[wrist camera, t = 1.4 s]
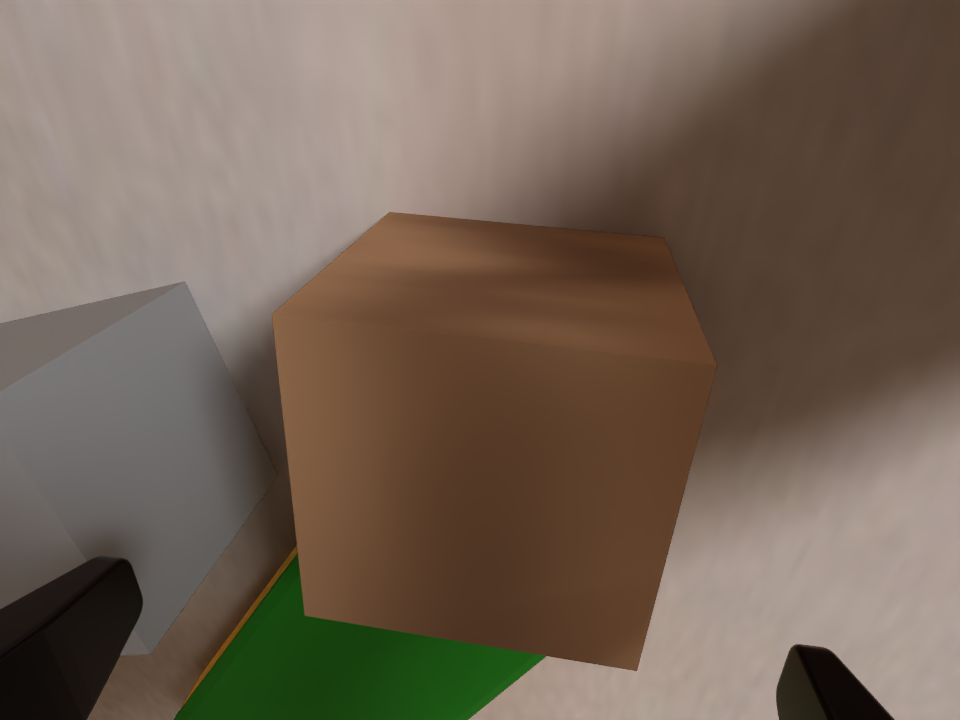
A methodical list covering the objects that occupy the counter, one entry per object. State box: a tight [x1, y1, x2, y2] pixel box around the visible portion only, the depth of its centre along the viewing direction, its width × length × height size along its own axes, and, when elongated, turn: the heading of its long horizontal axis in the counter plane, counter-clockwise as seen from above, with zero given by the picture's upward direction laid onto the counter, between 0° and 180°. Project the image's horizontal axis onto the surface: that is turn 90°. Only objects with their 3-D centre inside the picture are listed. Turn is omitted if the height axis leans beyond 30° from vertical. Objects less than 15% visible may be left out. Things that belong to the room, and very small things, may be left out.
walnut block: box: [272, 212, 717, 671], centre depth 12 cm, size 6×6×6 cm
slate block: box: [0, 282, 278, 656], centre depth 15 cm, size 6×6×6 cm
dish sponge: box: [174, 545, 546, 720], centre depth 20 cm, size 7×14×2 cm, turn 146°
